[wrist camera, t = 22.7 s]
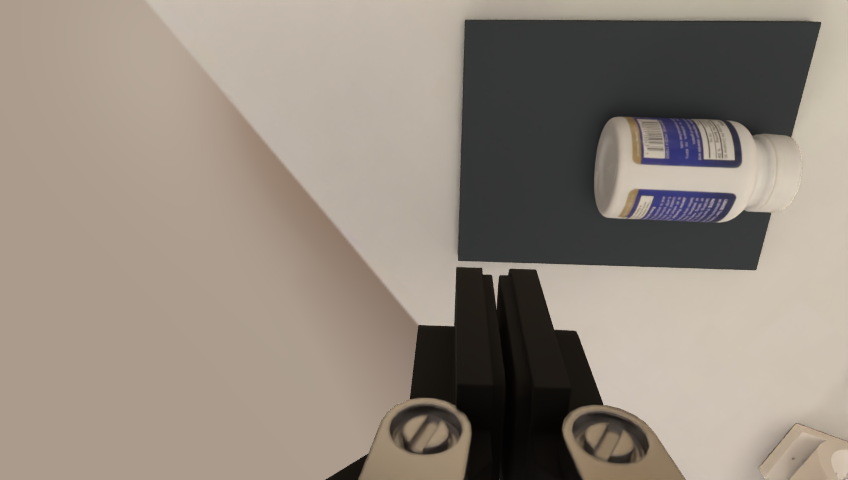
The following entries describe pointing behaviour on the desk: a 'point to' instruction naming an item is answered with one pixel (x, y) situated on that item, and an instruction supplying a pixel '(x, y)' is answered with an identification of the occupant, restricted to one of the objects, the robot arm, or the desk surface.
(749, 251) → the mat
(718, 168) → the pill bottle
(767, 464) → the headphone stand
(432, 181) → the desk surface
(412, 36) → the desk surface
